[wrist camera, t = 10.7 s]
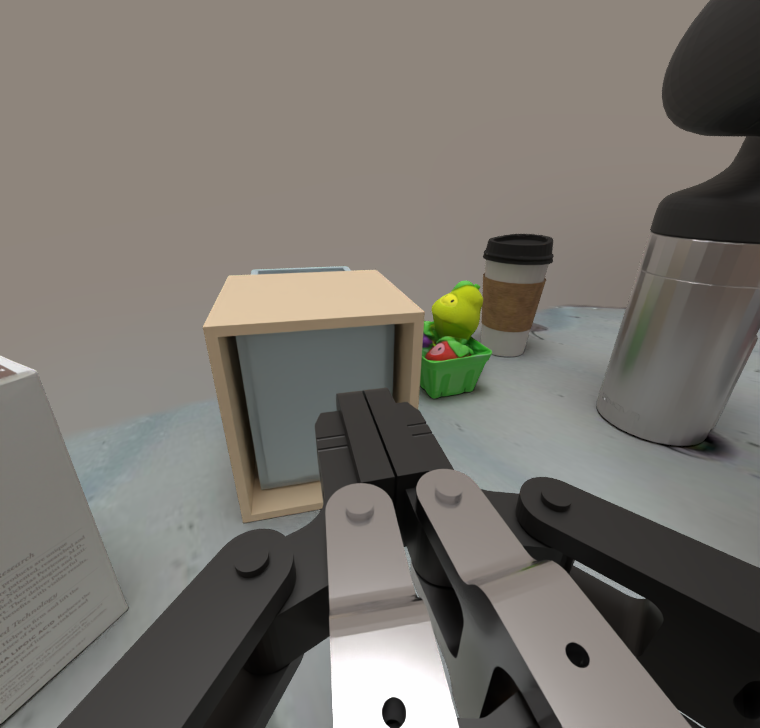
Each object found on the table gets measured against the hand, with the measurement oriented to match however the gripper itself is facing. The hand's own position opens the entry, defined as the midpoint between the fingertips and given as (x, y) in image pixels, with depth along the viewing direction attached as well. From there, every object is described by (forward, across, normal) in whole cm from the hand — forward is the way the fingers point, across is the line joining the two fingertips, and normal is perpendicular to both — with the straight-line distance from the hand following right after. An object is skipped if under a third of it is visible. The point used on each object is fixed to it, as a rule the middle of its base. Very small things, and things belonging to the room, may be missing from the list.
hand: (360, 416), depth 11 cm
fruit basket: (+27, -15, +16) cm, 35 cm away
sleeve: (+16, 0, +15) cm, 22 cm away
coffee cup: (+33, -27, +16) cm, 45 cm away
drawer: (+21, 0, +14) cm, 25 cm away
